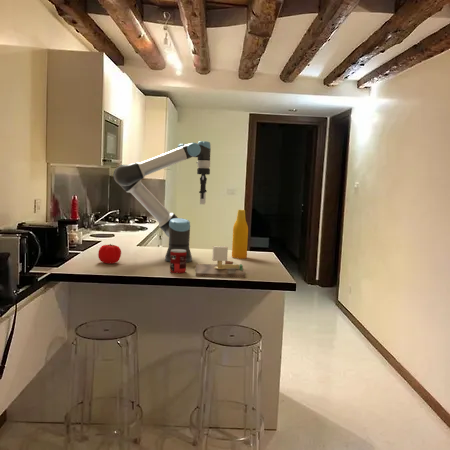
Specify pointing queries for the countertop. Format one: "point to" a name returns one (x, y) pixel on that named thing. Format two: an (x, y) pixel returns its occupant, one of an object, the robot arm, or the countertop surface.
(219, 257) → the tuning peg
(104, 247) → the tomato
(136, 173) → the robot arm
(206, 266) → the gauge plate
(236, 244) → the beer bottle
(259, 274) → the countertop surface
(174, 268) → the canned food
